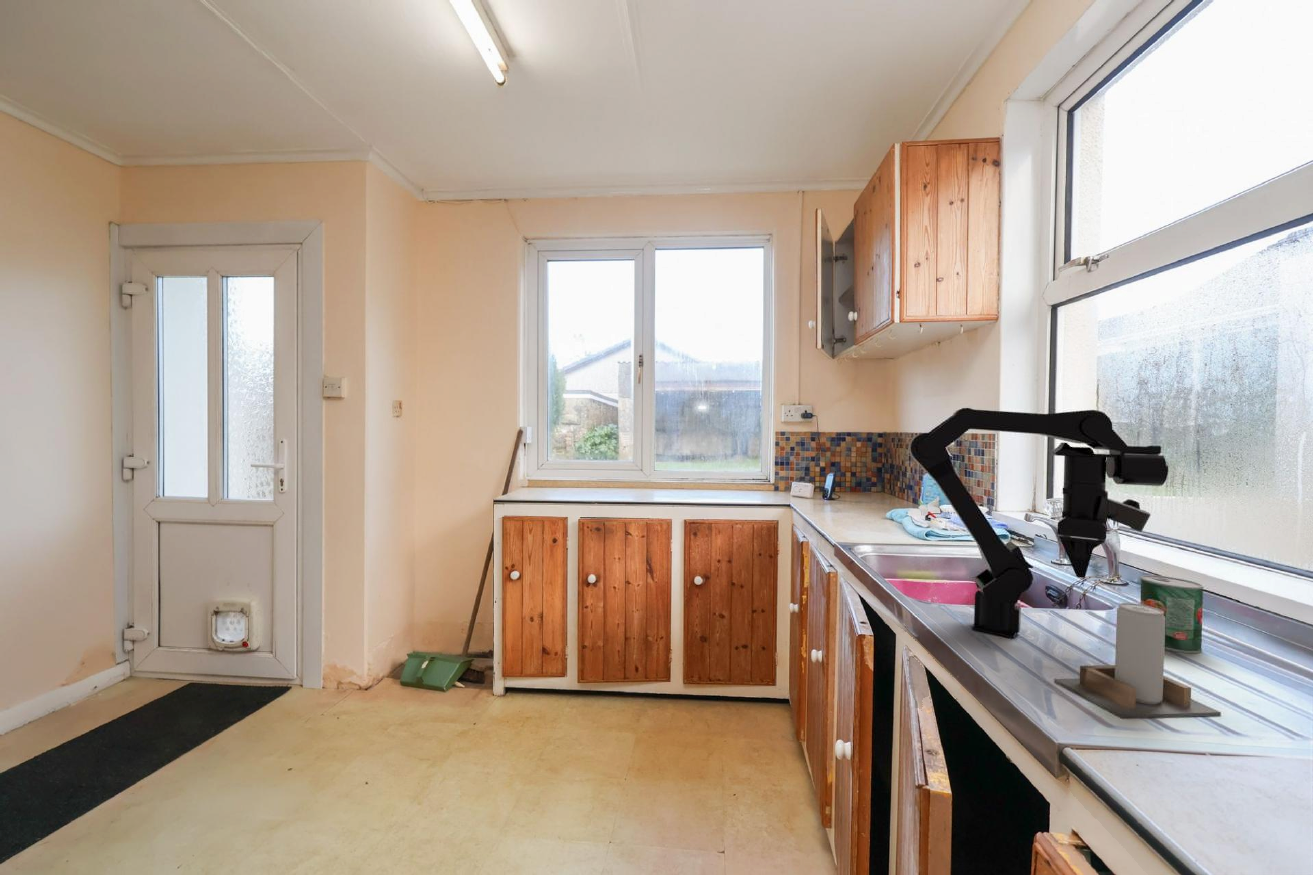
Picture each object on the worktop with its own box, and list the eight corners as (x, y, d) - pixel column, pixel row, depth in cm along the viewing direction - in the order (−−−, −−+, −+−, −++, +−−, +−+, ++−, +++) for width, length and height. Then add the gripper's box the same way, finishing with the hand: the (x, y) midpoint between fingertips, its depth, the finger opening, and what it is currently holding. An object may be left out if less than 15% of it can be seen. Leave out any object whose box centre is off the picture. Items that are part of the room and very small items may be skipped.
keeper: (1054, 681, 77) (1054, 661, 77) (1141, 679, 78) (1142, 659, 78) (1121, 718, 67) (1122, 695, 67) (1220, 715, 68) (1221, 692, 68)
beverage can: (1172, 708, 69) (1175, 615, 69) (1129, 703, 70) (1132, 612, 70) (1146, 691, 74) (1149, 604, 74) (1105, 686, 75) (1108, 601, 75)
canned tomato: (1215, 653, 89) (1217, 587, 89) (1171, 653, 89) (1173, 587, 89) (1167, 635, 97) (1169, 575, 97) (1126, 635, 97) (1128, 574, 97)
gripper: (1150, 490, 81) (1147, 593, 81) (1143, 483, 95) (1141, 571, 95) (1058, 484, 88) (1055, 579, 88) (1064, 479, 102) (1062, 561, 102)
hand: (1081, 572), depth 93 cm, fingers open, 9 cm apart
